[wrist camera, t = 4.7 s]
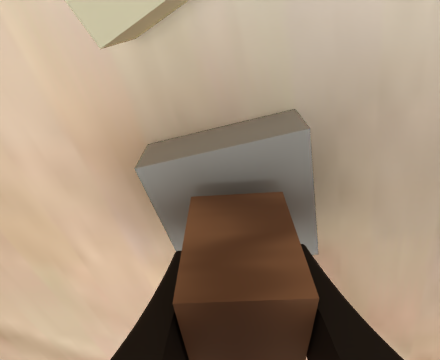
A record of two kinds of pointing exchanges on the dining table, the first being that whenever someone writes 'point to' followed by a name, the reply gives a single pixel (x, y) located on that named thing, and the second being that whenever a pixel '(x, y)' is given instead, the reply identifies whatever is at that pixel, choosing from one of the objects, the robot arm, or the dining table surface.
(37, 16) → the dining table surface
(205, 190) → the base block
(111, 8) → the sage block
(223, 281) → the walnut block
